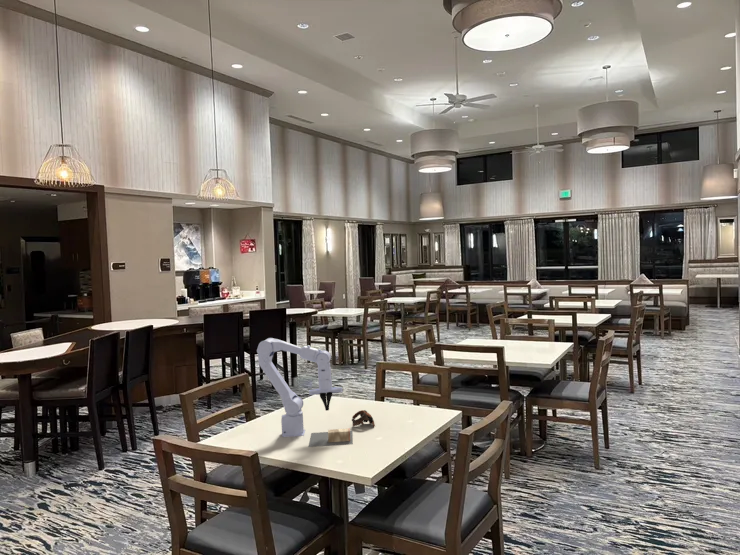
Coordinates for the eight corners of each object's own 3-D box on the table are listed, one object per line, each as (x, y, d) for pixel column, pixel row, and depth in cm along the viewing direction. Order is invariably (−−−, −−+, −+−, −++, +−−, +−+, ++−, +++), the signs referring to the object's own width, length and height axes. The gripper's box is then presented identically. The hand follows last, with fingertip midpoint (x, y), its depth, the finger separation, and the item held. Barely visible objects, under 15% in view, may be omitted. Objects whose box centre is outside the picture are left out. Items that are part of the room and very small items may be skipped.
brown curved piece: (376, 430, 237) (366, 415, 235) (358, 439, 239) (348, 425, 237) (376, 415, 249) (367, 402, 247) (359, 424, 250) (350, 411, 248)
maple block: (327, 432, 221) (349, 431, 221) (328, 429, 225) (349, 428, 225) (328, 442, 221) (350, 441, 221) (328, 439, 225) (350, 437, 225)
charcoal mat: (308, 447, 217) (308, 446, 217) (311, 433, 235) (311, 432, 235) (352, 445, 217) (352, 444, 217) (352, 431, 235) (352, 430, 235)
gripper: (307, 382, 229) (310, 413, 229) (341, 379, 230) (343, 410, 230) (308, 378, 236) (311, 409, 236) (341, 376, 237) (344, 406, 237)
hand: (327, 409), depth 234 cm, fingers closed
